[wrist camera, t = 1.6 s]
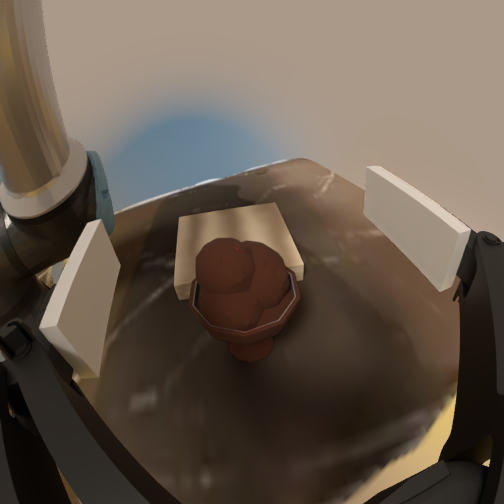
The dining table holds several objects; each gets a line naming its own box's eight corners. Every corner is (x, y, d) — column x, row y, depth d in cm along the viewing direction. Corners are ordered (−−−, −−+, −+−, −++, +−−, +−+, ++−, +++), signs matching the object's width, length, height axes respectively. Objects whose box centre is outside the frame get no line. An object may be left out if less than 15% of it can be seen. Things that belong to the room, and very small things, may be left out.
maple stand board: (179, 300, 40) (173, 285, 38) (182, 230, 54) (179, 217, 52) (302, 279, 42) (303, 264, 40) (275, 215, 56) (275, 202, 54)
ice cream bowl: (244, 400, 28) (222, 315, 19) (190, 337, 35) (155, 242, 26) (315, 345, 33) (329, 245, 23) (256, 296, 40) (246, 199, 30)
